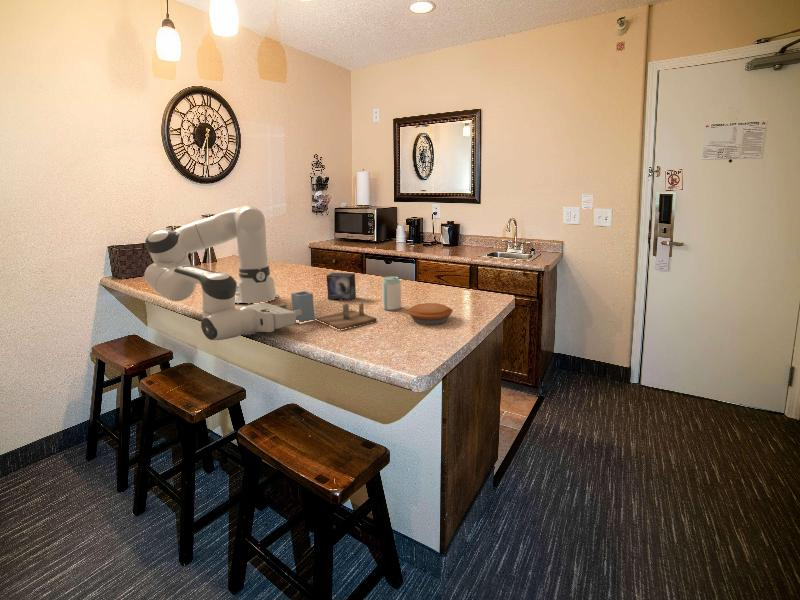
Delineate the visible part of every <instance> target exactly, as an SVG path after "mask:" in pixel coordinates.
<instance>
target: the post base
mask: <svg viewBox="0 0 800 600" xmlns="http://www.w3.org/2000/svg"><path fill="white" fill-rule="evenodd" d="M349 306H350V305H349V303H343V304H342V312H338V313H333V314H329V315H328V314H327V315H325V316H321V317H320V316H319V317H317V318H316V319H317V320H319V321H321V322H324V323H326V324H328V325H331V326H333V327H335V328H337V329H340V330H341V329H345V328H349V327H354V326H358V327H360V326H359V325H362V326H364V325H363V324H366V325H368V324H367V323H370V324H372V323H371V322H373V323H376V321H377V320H378V319H377V317H374V316H371V315H368V314H366V313H364V311H365V309H364V307H365V306H364V303H362V302H360V303H358V311H356V310H353V309H351V310H350V309H349V308H350V307H349ZM377 322H378V321H377ZM354 328H355V327H354Z"/></svg>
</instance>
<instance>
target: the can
mask: <svg viewBox="0 0 800 600" xmlns="http://www.w3.org/2000/svg"><path fill="white" fill-rule="evenodd" d="M401 290H402V289H401V281H400V278H399V277H398V276H392V275H391V276H383V279H382V281H381V295H382V296H381V299H382V301H381V303H382V305H381V306H382V309H384V310H385V309H386V310H385V311H390V310H392V311H397V309H398V310H399V309H401V307H402V305H401V304H402V297H401V294H402V293H401Z"/></svg>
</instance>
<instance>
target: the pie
mask: <svg viewBox="0 0 800 600" xmlns="http://www.w3.org/2000/svg"><path fill="white" fill-rule="evenodd" d="M452 313H453V309H452V308H451V307H449V306H447V305H445V304H442V303H434V302H428V303H426V302H425V303H419V304H416V305H413V306H411V307H409V309H408V310H407V314H408V315H409V316H410V317H411V319H412V321H414V323H417V324H418V323H419V325H423V324H425V325H426V326H434V325H435V326H436V324H437V325H441V324H444V323H446V322H447V320H448V318H449V317H450V316H451V315H452ZM425 325H424V326H425Z"/></svg>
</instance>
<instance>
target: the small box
mask: <svg viewBox="0 0 800 600" xmlns="http://www.w3.org/2000/svg"><path fill="white" fill-rule="evenodd" d="M326 289H327V300H329V299H342V300H341V301H344V300H351V301H353V300H354V299H356V298H357V293H356V292H357V291H356V273H355V272H354V273H351V272H350V273H349V272H331V273H329V274H327V275H326ZM355 297H356V298H355ZM352 299H353V300H352Z"/></svg>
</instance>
